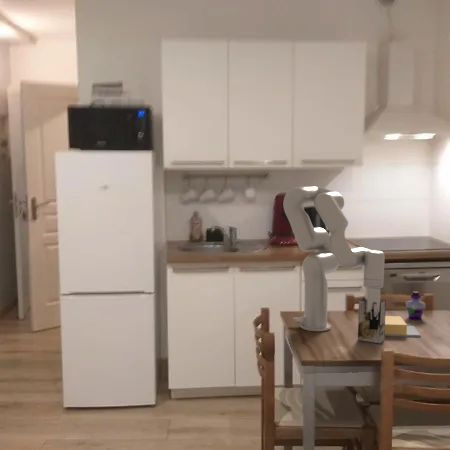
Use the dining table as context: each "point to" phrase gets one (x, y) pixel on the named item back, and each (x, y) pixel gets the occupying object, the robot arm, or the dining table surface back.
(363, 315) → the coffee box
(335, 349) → the dining table surface
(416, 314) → the potion bottle
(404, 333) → the butter on tray
